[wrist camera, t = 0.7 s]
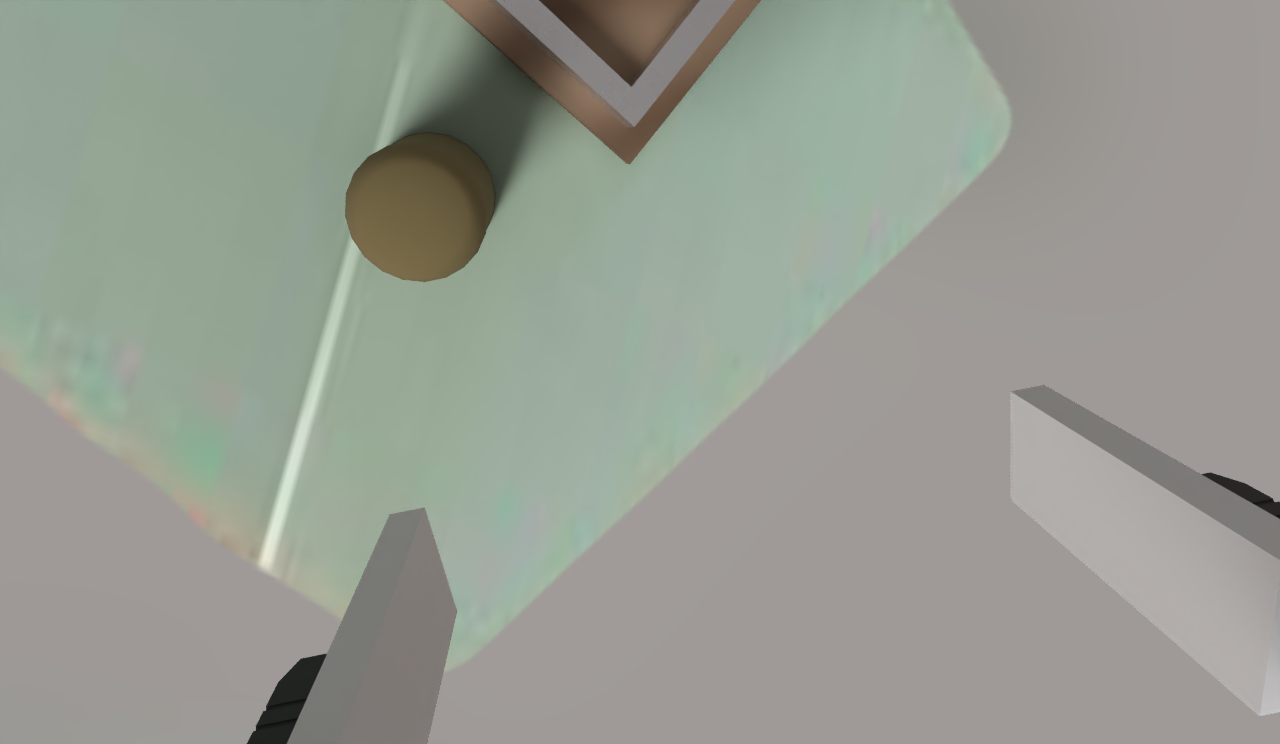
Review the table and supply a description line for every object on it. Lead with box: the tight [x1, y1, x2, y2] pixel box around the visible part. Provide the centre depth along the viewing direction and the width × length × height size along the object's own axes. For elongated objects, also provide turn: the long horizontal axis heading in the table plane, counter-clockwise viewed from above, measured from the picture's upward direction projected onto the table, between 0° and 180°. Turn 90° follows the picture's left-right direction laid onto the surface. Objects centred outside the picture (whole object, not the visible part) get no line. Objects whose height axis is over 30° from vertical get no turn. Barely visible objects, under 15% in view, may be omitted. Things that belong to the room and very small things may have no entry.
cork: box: [345, 132, 495, 282], centre depth 32 cm, size 6×6×11 cm
